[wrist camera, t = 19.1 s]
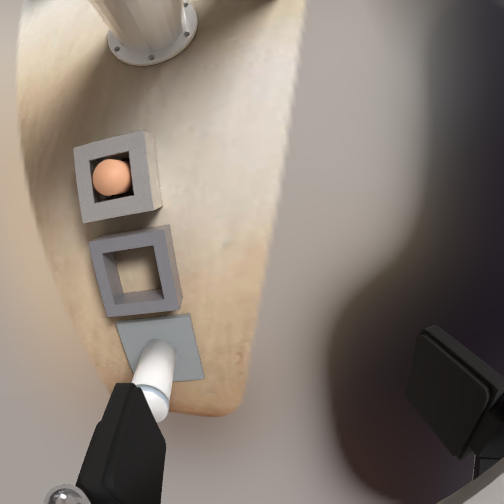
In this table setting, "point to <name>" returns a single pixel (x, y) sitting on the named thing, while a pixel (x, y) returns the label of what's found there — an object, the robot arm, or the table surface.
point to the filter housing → (110, 280)
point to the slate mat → (165, 328)
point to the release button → (112, 177)
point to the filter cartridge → (156, 375)
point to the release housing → (142, 172)
